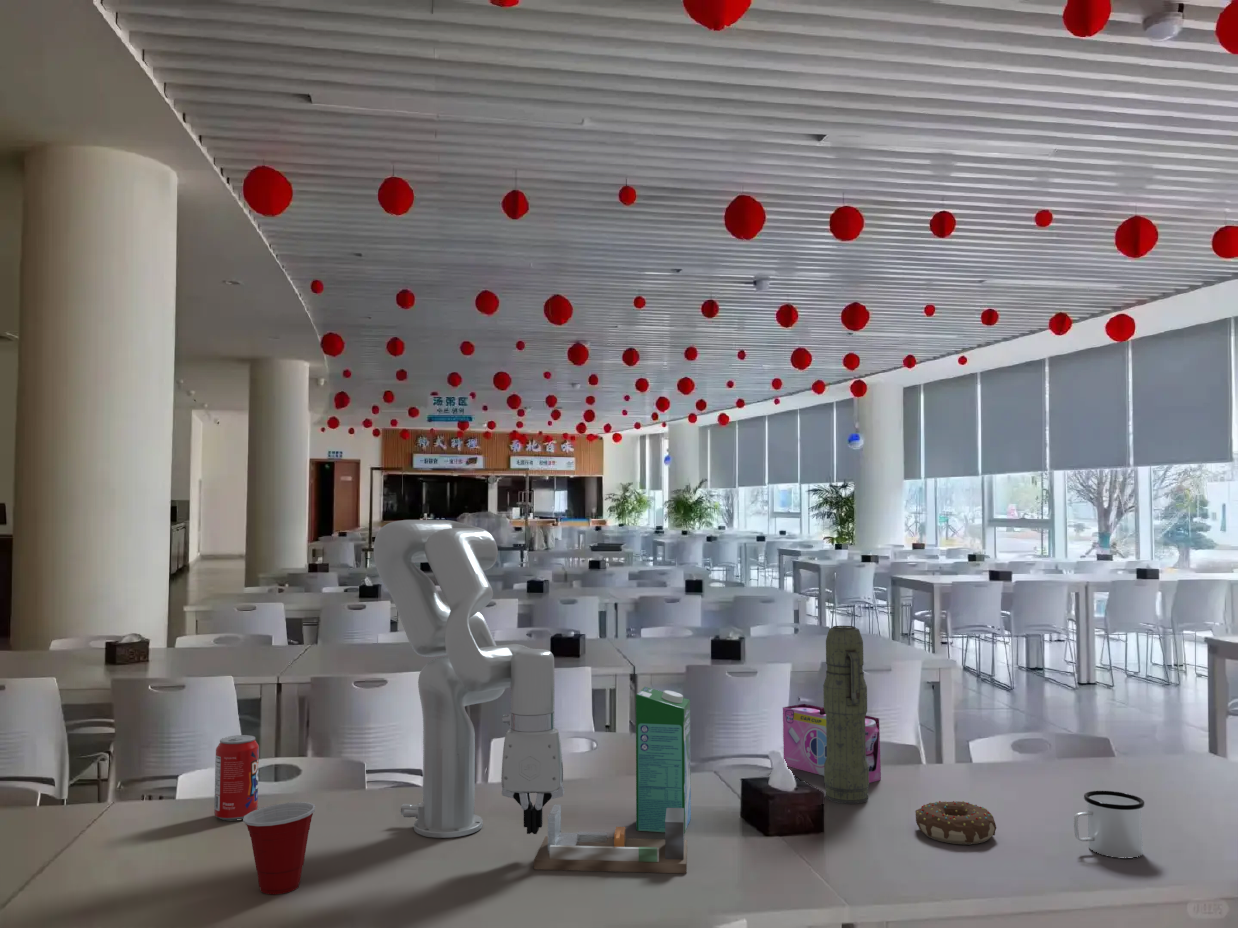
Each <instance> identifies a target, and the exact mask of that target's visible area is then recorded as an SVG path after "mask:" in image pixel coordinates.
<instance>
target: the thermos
mask: <svg viewBox="0 0 1238 928" xmlns="http://www.w3.org/2000/svg"><path fill="white" fill-rule="evenodd" d="M825 665H826V670H825V676H826V677H825V680H824V682H823V685H822V687H823V689H822V690H823V707H824V711H825V714H826V738H827V758H826V761H825V763H824V776H823V777H824V783H823V784H824V786H825V798H826V799H827V800H828V801H831V802H834V803H835V802H836V803H840V804H855V805H856V804H863V803H866V802H867V801H868V800H869V787H870V783H869V766H868V763H867V761H866V741H865V716H866V715H867V713H868V685H867V684H866V680H865V674H864V671H863V670H864V669H863V666H864V640H863V637H862V633H861V630H860V629H859V628H858V627H857V628H856V626H853V625H833V626H832V627H829V629H828V632H827V635H826V639H825Z"/></svg>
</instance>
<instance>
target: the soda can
mask: <svg viewBox="0 0 1238 928" xmlns="http://www.w3.org/2000/svg"><path fill="white" fill-rule="evenodd" d="M259 753H260V745H259V744H258V741H256V736H254V735H251V734H250V735H249V734H248V735H247V734H238V735H230V736H224V737H222V738H220V739H219V743H218V745H217V746H216V748H215V758H214V759H215V761H214V762H215V763H214V764H215V766H214V767H215V768H214V807H213V808H214V809H213V810H214V816H215V818H218V819H220V820H221V819H223V820H222V821H225V820H237V819H243V818H244V816H245V815H247V814H248V813H250V812H252V811H255V810H257V809H259V807H258V806H259V758H260V757H259V756H260V755H259ZM237 821H238V820H237Z"/></svg>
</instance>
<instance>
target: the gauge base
mask: <svg viewBox="0 0 1238 928" xmlns="http://www.w3.org/2000/svg"><path fill="white" fill-rule="evenodd" d="M687 867H688V839H685V833H684V808H667V809H666V818H665V832H664V838H663V839H662V838H626V842H625V846H624V847H614V837H607V843H605V842H579V845H578V846H568V845H550V853H548V835H547V836H545V837H544V839H543V840H542V843H541V845H540V847H539V849H538V850H537V853H536V855H535V857H534V860H533V869H534V870H542V871H543V870H545V871H546V870H547V871H548V870H549V871H550V870H551V871H580V872H581V871H584V872H585V871H586V872H593V871H594V872H616V873H617V872H622V873H623V872H627V873H628V872H629V873H656V874H657V873H662V874H687V872H688V871H687V870H688V868H687Z"/></svg>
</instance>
